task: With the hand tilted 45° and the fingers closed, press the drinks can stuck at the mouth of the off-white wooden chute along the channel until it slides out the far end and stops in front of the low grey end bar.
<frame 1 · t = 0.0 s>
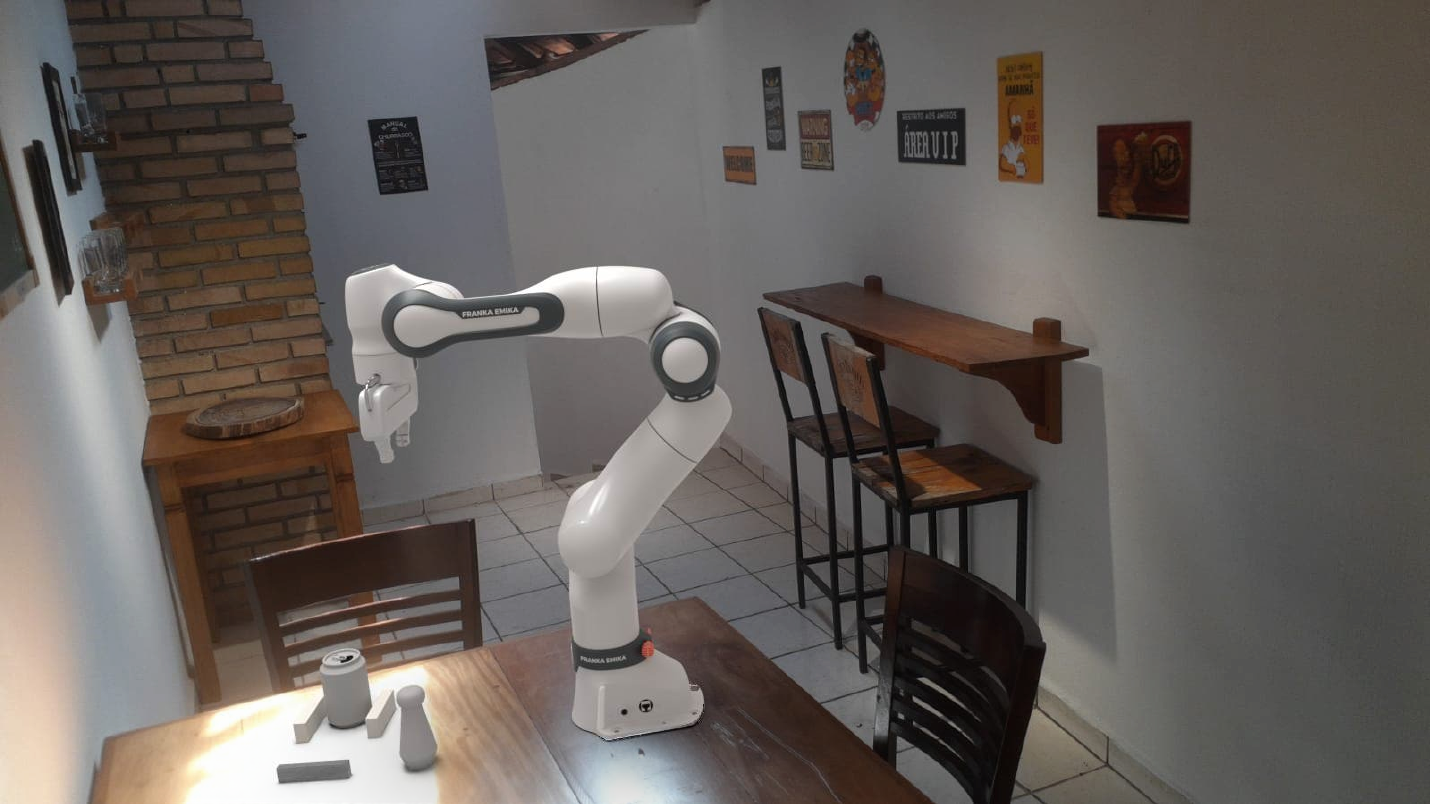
hand: (395, 453, 172), 48 cm above the table, tool pointing down, fingers open, 8 cm apart
end bar: (315, 778, 170), on the table
chute: (347, 724, 185), on the table
salt shaker: (420, 764, 172), on the table
can: (351, 719, 187), on the table
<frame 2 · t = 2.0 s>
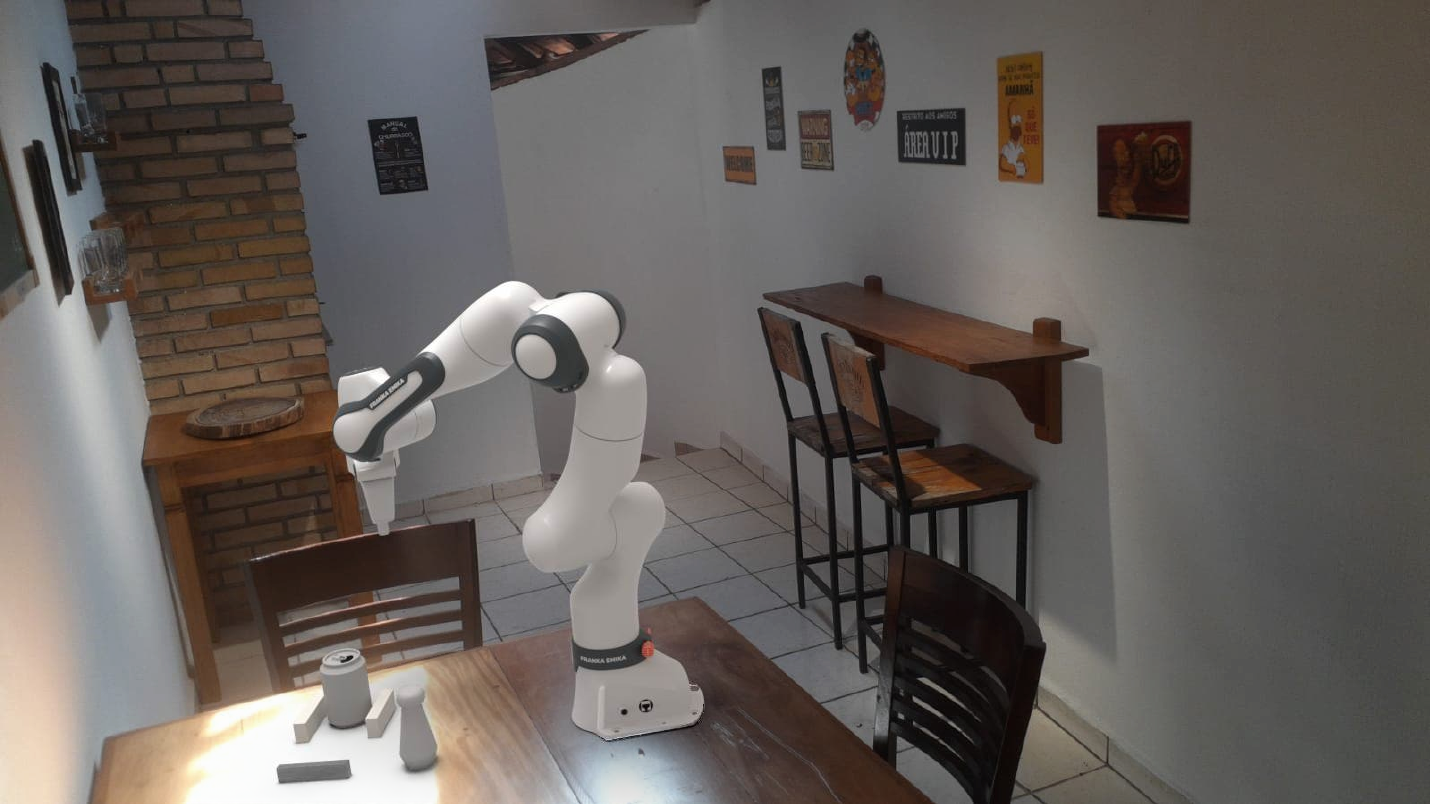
hand: (383, 532, 193), 29 cm above the table, tool pointing down, fingers closed
nothing on the table moved.
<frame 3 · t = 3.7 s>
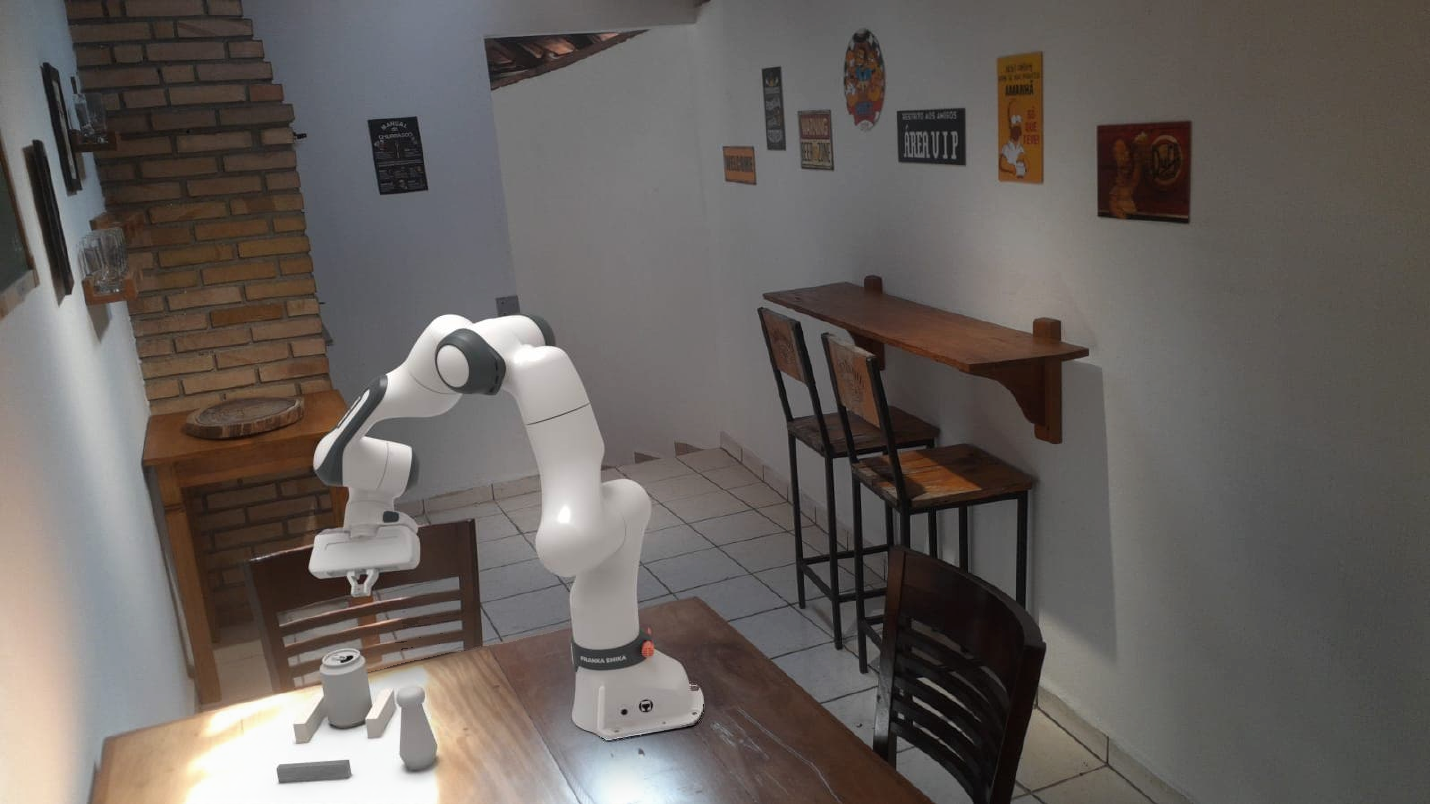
hand: (360, 595, 196), 17 cm above the table, tool tilted 40°, fingers closed
nothing on the table moved.
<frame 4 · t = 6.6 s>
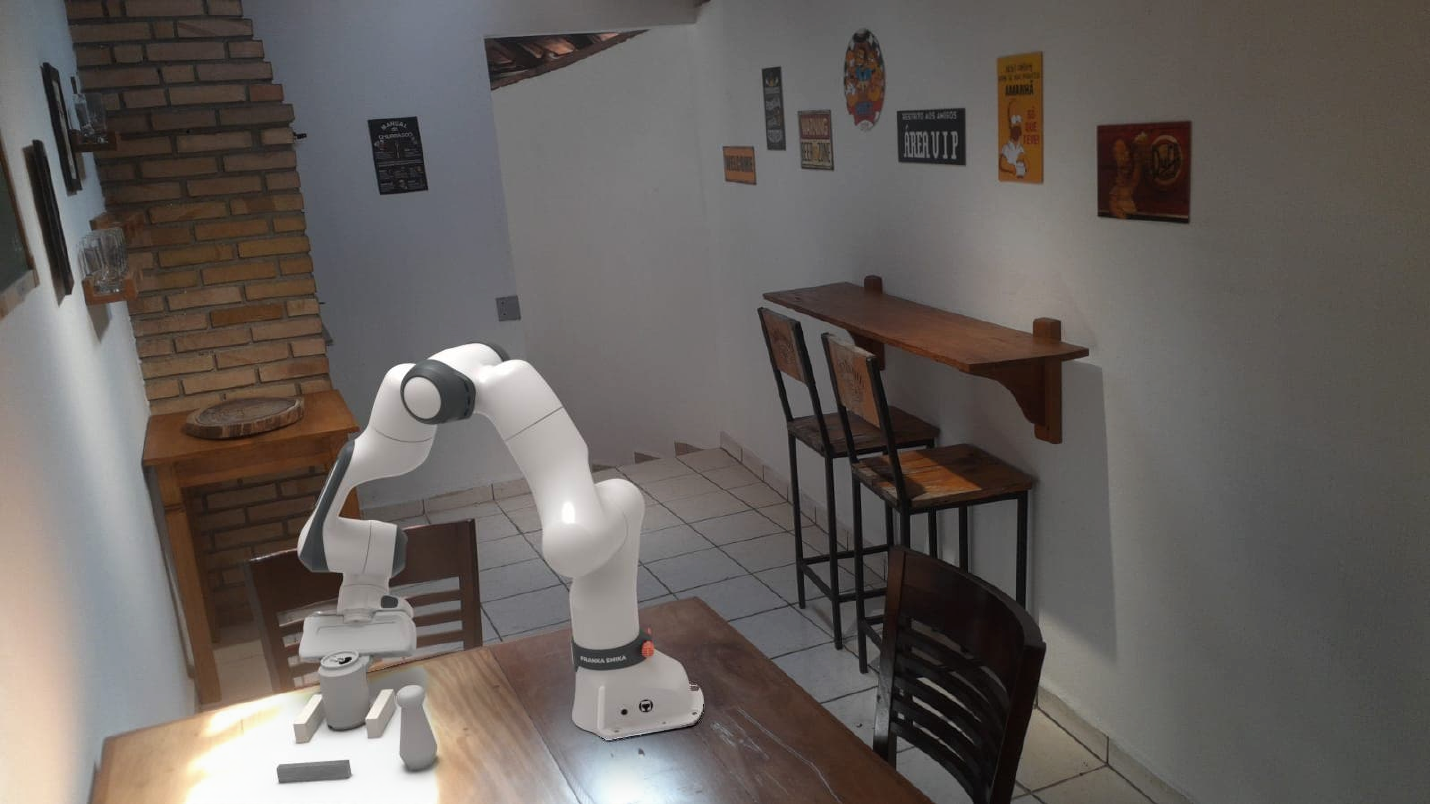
hand: (353, 683, 190), 5 cm above the table, tool tilted 45°, fingers closed, pressing on can
can: (349, 721, 187), on the table, touching gripper
everything else where it was.
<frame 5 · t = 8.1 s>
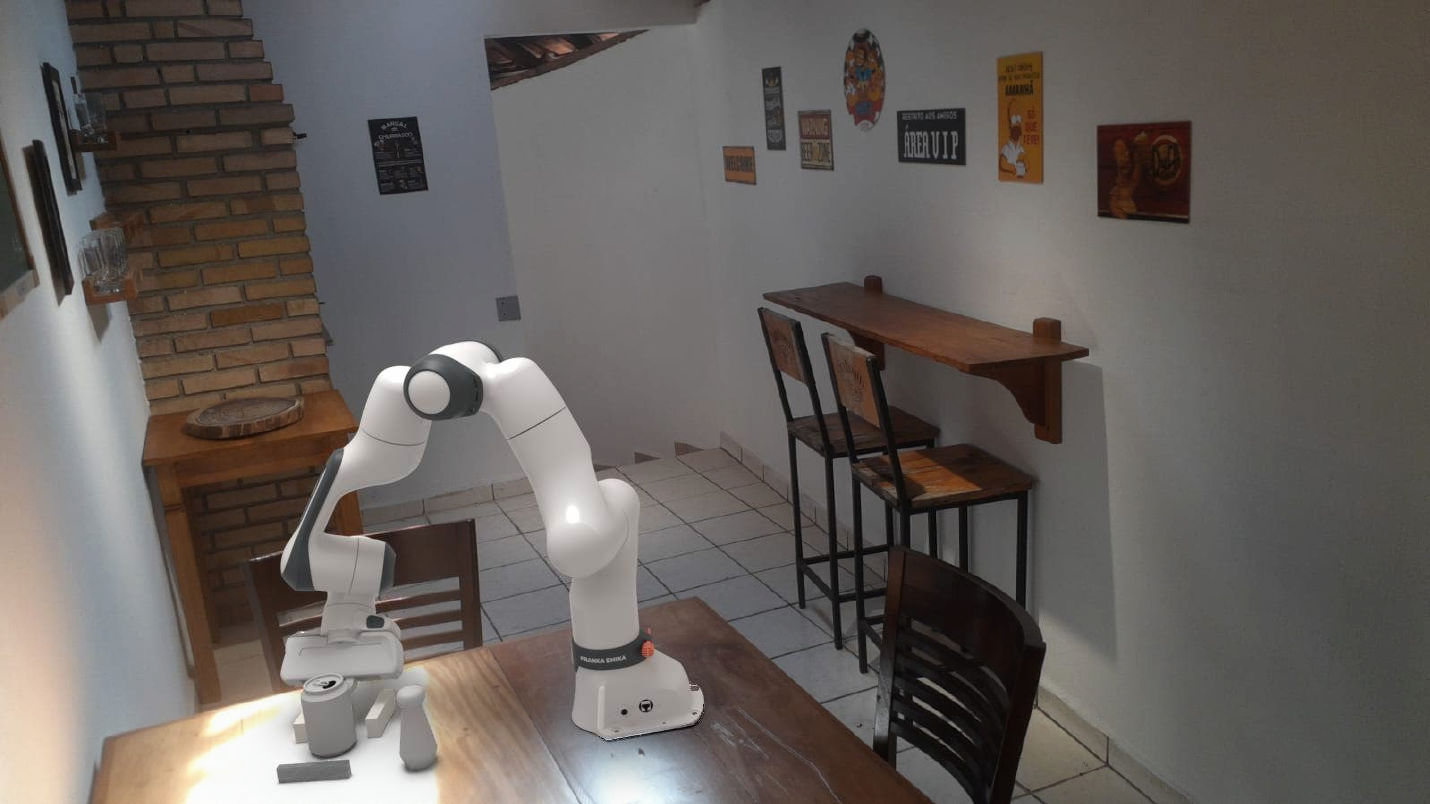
hand: (337, 707, 181), 5 cm above the table, tool tilted 45°, fingers closed, pressing on can
can: (334, 748, 178), on the table, touching gripper
everything else where it was.
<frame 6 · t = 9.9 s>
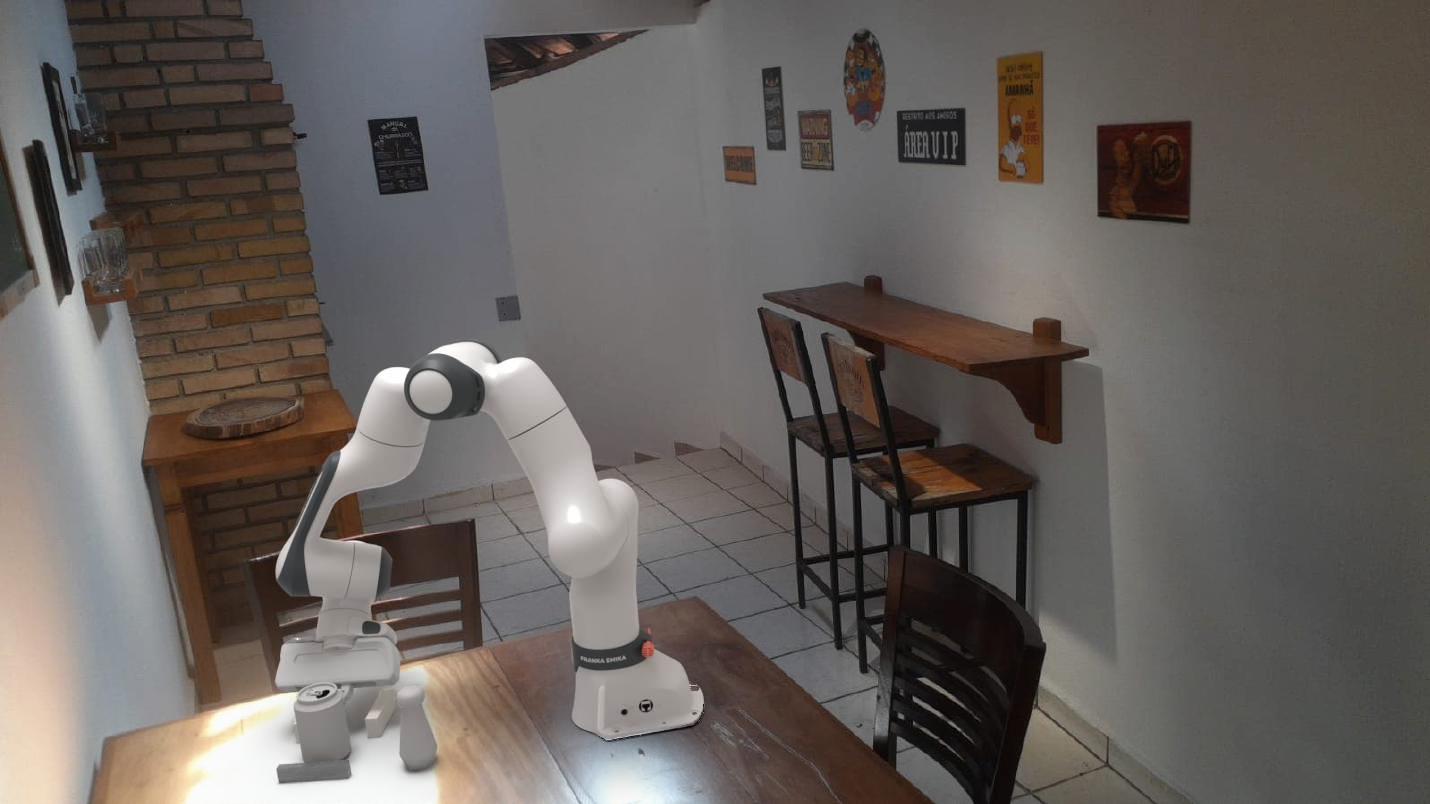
hand: (333, 714, 179), 5 cm above the table, tool tilted 45°, fingers closed
can: (327, 758, 175), on the table
everything else where it was.
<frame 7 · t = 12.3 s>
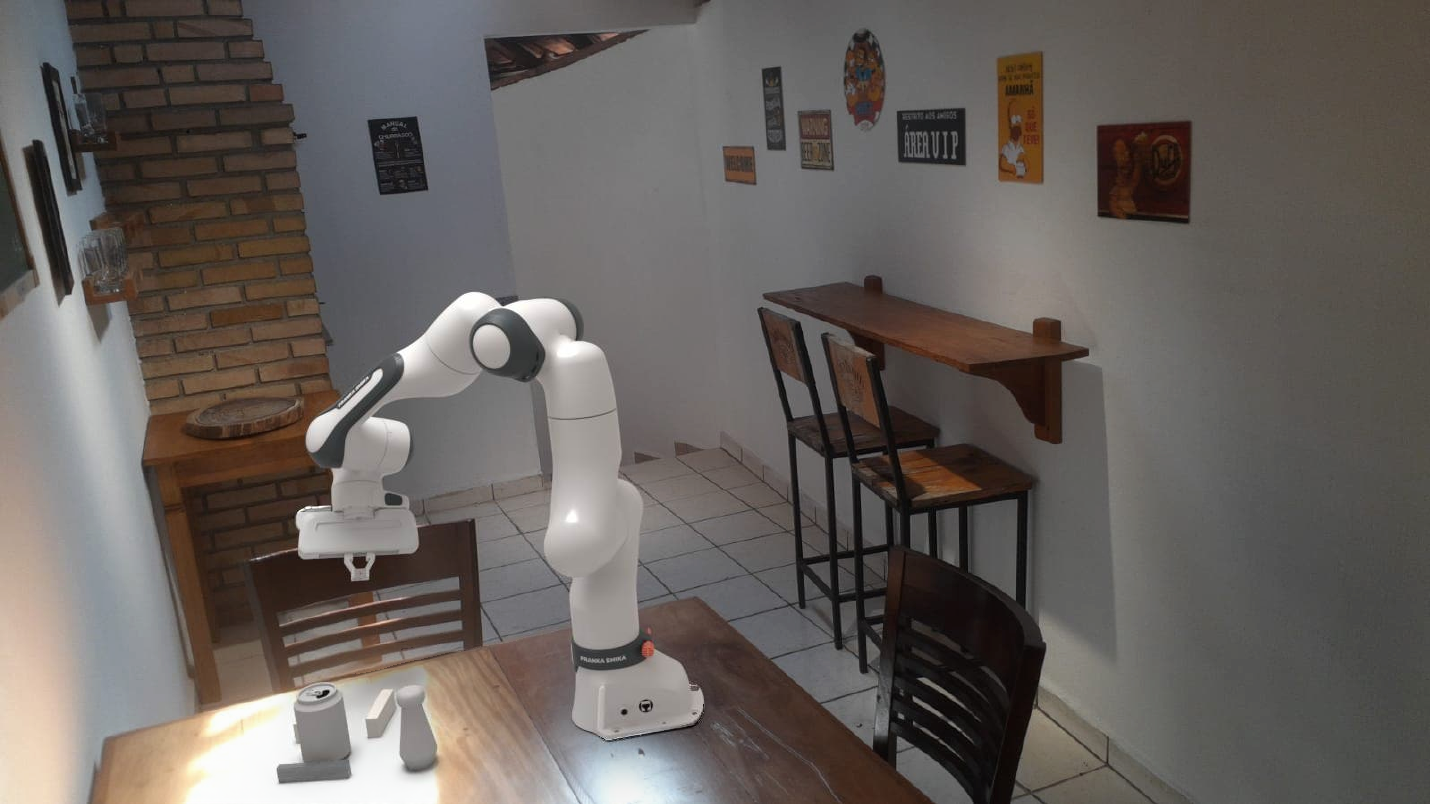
hand: (360, 579, 188), 23 cm above the table, tool tilted 35°, fingers closed
nothing on the table moved.
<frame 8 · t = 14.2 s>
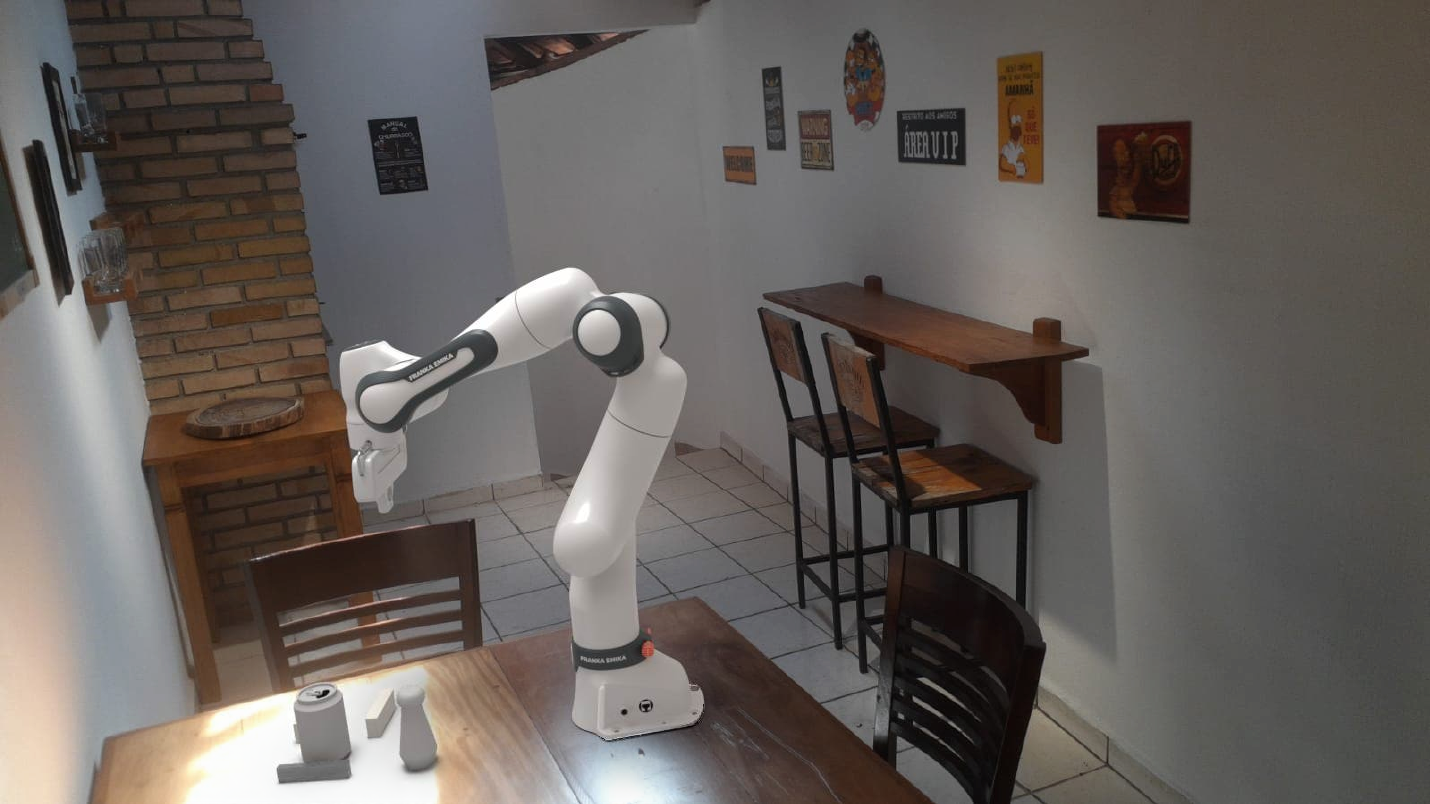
hand: (386, 510, 189), 34 cm above the table, tool pointing down, fingers closed
nothing on the table moved.
at the end: can inside the target area (1.3 cm from its centre), on the table; can tilted 0° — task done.
